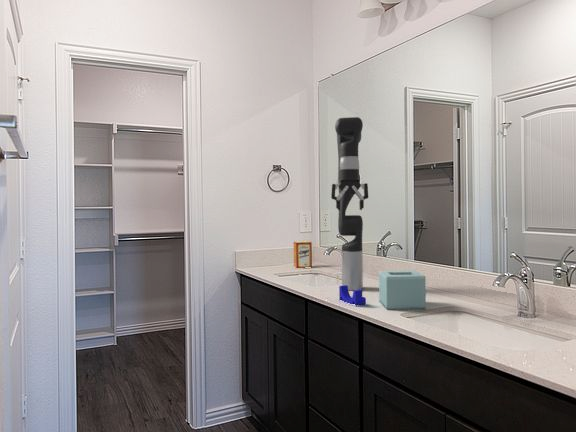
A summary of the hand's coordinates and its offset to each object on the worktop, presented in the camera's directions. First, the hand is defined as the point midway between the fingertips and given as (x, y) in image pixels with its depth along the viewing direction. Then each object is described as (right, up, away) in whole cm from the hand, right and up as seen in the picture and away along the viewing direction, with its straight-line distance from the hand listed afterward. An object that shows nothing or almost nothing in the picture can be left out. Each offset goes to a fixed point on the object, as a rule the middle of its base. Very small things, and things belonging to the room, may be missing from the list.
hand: (349, 210), depth 177 cm
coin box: (+18, -36, -7) cm, 41 cm away
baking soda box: (-15, -34, +97) cm, 104 cm away
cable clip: (+1, -37, -2) cm, 36 cm away
